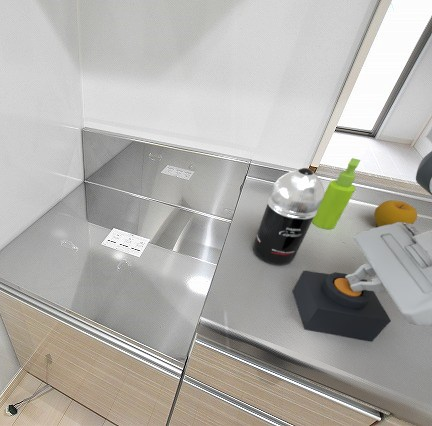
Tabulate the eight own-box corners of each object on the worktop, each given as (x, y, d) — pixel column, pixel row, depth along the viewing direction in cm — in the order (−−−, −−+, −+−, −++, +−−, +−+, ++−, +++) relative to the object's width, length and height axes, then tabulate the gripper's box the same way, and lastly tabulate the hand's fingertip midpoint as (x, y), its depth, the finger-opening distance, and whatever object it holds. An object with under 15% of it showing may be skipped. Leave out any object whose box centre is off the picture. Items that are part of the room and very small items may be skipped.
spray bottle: (247, 239, 82) (274, 157, 68) (286, 242, 81) (322, 159, 66) (256, 265, 74) (289, 179, 59) (300, 269, 73) (344, 182, 58)
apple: (362, 227, 85) (377, 202, 80) (373, 216, 90) (388, 192, 84) (398, 242, 80) (417, 216, 75) (408, 230, 84) (427, 205, 79)
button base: (351, 300, 65) (371, 272, 60) (372, 342, 57) (397, 314, 52) (292, 291, 67) (306, 263, 62) (304, 329, 60) (322, 301, 54)
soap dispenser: (337, 221, 88) (370, 160, 76) (332, 232, 84) (366, 169, 72) (315, 213, 91) (344, 154, 80) (309, 223, 87) (338, 162, 76)
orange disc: (351, 286, 59) (356, 279, 58) (360, 304, 56) (366, 297, 55) (327, 283, 60) (331, 276, 59) (335, 300, 57) (339, 293, 56)
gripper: (401, 208, 56) (323, 239, 64) (481, 292, 40) (365, 319, 48) (414, 229, 58) (337, 257, 66) (496, 317, 42) (381, 340, 50)
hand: (349, 284), depth 57 cm, fingers closed, pressing on orange disc
